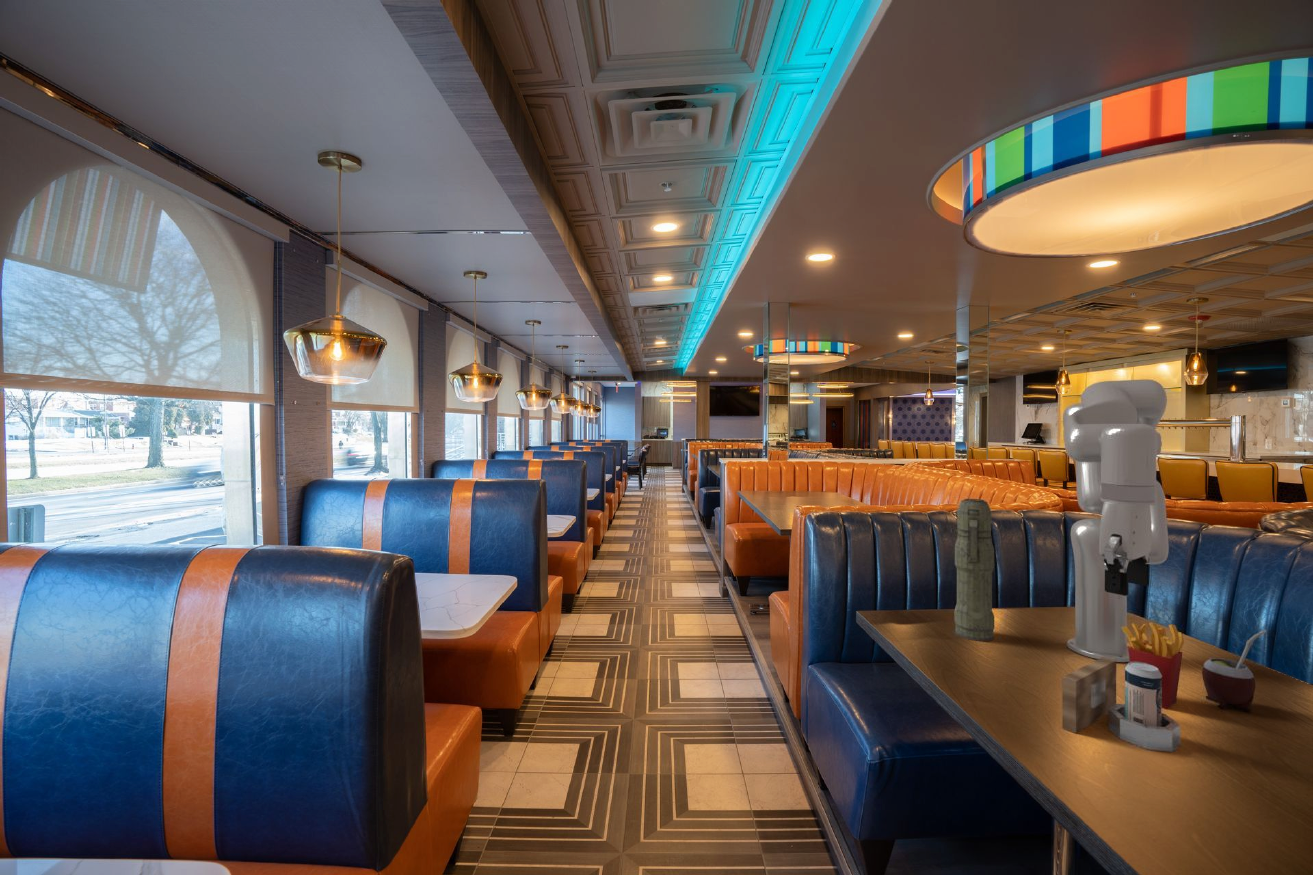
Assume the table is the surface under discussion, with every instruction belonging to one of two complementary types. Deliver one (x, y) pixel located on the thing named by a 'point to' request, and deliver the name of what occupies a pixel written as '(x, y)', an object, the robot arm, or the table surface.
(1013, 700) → the table surface
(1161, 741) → the grey octagonal ring
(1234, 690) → the mate gourd
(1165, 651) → the french fries
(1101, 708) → the brown flat block
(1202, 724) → the table surface
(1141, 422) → the robot arm
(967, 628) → the thermos
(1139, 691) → the beer can
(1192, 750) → the table surface
